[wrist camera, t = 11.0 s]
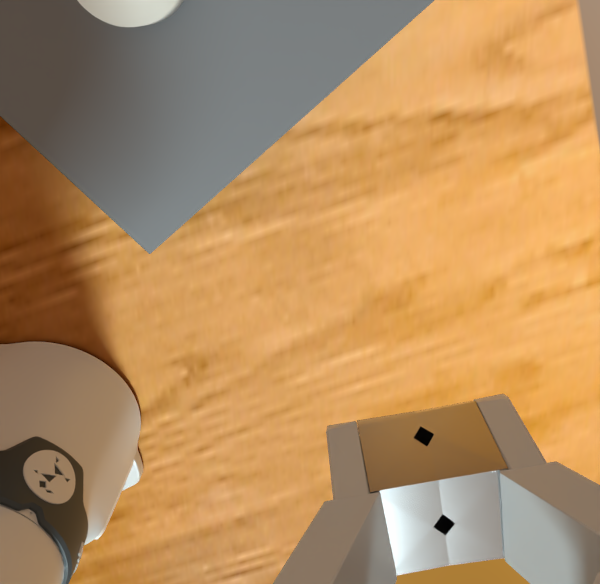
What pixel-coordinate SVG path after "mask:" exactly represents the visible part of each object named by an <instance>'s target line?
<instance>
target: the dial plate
mask: <svg viewBox="0 0 600 584" xmlns="http://www.w3.org/2000/svg"><path fill="white" fill-rule="evenodd" d="M433 1H434V0H183V2H182V4H181V5H180V6H179V8H178V9H177V10H176V11H175V12H174V13H173V14H172V15H171V16H169V17H168V18H166V19H165V20H163V21H161V22H158V23H155V24H151V25H145V26H139V27H119V26H115V25H111V24H109V23H106V22H104V21H102V20H100V19H98V18H96V17H95V16H93V15H92V14H91V13H89V12H88V11H87V10H86V9H85V8H84V7H83V6H82V5H81V4H80V3H79V2H78V1H77V0H0V116H1V117H2V118H3V119H4V120H5V121H6V122H7V123H8V124H9V125H10V126H12V127H13V128H14V129H15V130H16V131H17V132H18V133H19V134H20V135H21V136H22V137H23V138H25V139H26V140H27V141H28V142H29V143H30V144H31V145H32V146H33V147H34V148H35V149H36V150H38V151H39V152H40V153H41V154H42V155H43V156H44V157H45V158H46V159H47V160H48V161H49V162H51V163H52V164H53V165H54V166H55V167H56V168H57V169H58V170H59V171H60V172H61V173H62V174H64V175H65V176H66V177H67V178H68V179H69V180H70V181H71V182H72V183H73V184H74V185H75V186H76V187H78V188H79V189H80V190H81V191H82V192H83V193H84V194H85V195H86V196H87V197H88V198H89V199H91V200H92V201H93V202H94V203H95V204H96V205H97V206H98V207H99V208H100V209H101V210H102V211H104V212H105V213H106V214H107V215H108V216H109V217H110V218H111V219H112V220H113V221H114V222H115V223H117V224H118V225H119V226H120V227H121V228H122V229H123V230H124V231H125V232H126V233H127V234H128V235H130V236H131V237H132V238H133V239H134V240H135V241H136V242H137V243H138V244H139V245H140V246H141V247H142V248H144V249H145V250H146V251H147V252H148V253H149V254H151V253H152V252H153V251H154V250H155V249H156V248H157V247H158V246H160V245H161V244H162V243H163V242H164V241H165V240H166V239H167V238H169V237H170V236H171V235H172V234H173V233H174V232H175V231H176V230H178V229H179V228H180V227H181V226H182V225H183V224H184V223H185V222H186V221H188V220H189V219H190V218H191V217H192V216H193V215H194V214H195V213H197V212H198V211H199V210H200V209H201V208H202V207H203V206H204V205H206V204H207V203H208V202H209V201H210V200H211V199H212V198H213V197H215V196H216V195H217V194H218V193H219V192H220V191H221V190H222V189H223V188H225V187H226V186H227V185H228V184H229V183H230V182H231V181H232V180H234V179H235V178H236V177H237V176H238V175H239V174H240V173H241V172H243V171H244V170H245V169H246V168H247V167H248V166H249V165H250V164H251V163H253V162H254V161H255V160H256V159H257V158H258V157H259V156H260V155H262V154H263V153H264V152H265V151H266V150H267V149H268V148H269V147H271V146H272V145H273V144H274V143H275V142H276V141H277V140H278V139H279V138H281V137H282V136H283V135H284V134H285V133H286V132H287V131H288V130H290V129H291V128H292V127H293V126H294V125H295V124H296V123H297V122H299V121H300V120H301V119H302V118H303V117H304V116H305V115H306V114H308V113H309V112H310V111H311V110H312V109H313V108H314V107H315V106H316V105H318V104H319V103H320V102H321V101H322V100H323V99H324V98H325V97H327V96H328V95H329V94H330V93H331V92H332V91H333V90H334V89H336V88H337V87H338V86H339V85H340V84H341V83H342V82H343V81H344V80H346V79H347V78H348V77H349V76H350V75H351V74H352V73H353V72H355V71H356V70H357V69H358V68H359V67H360V66H361V65H362V64H364V63H365V62H366V61H367V60H368V59H369V58H370V57H371V56H372V55H374V54H375V53H376V52H377V51H378V50H379V49H380V48H381V47H383V46H384V45H385V44H386V43H387V42H388V41H389V40H390V39H392V38H393V37H394V36H395V35H396V34H397V33H398V32H399V31H401V30H402V29H403V28H404V27H405V26H406V25H407V24H408V23H409V22H411V21H412V20H413V19H414V18H415V17H416V16H417V15H418V14H420V13H421V12H422V11H423V10H424V9H425V8H426V7H427V6H429V5H430V4H431V3H432V2H433Z"/></svg>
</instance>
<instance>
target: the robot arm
mask: <svg viewBox="0 0 600 584" xmlns="http://www.w3.org/2000/svg"><path fill="white" fill-rule="evenodd" d="M357 424H358V427H357ZM140 428H141V417H140V411H139V407H138V404H137V401H136V399H135V397H134V395H133V393H132V391H131V390H130V388H129V387H128V385H127V384H126V383H125V381H124V380H123V379H122V378H121V377H120V376H119V375H118V374H117V373H116V372H115V371H114V370H113V369H112V368H110V367H109V366H108V365H106V364H105V363H104V362H102V361H101V360H99V359H97V358H96V357H94V356H92V355H90V354H88V353H86V352H83V351H81V350H78V349H76V348H73V347H69V346H66V345H62V344H57V343H50V342H21V343H13V344H0V584H68V583H69V581H70V579H71V577H72V575H73V573H74V572H75V571H76V569H77V566H78V564H79V561H80V559H81V556H82V552H83V546H84V545H86V544H88V543H89V542H91V541H92V540H94V539H99V538H100V537H101V535H102V534H103V532H104V531H105V529H106V526H107V524H108V522H109V520H110V517H111V515H112V513H113V510H114V508H115V506H116V503H117V501H118V499H119V496H120V494H121V492H122V490H124V489H127V488H129V487H131V486H133V485H135V484H136V483H137V482H138V481H139V480H140V477H141V475H142V473H143V464H142V460H141V457H140V454H139V452H138V439H139V434H140ZM358 430H359V431H358ZM326 434H327V443H328V453H329V462H330V472H331V481H332V491H333V500H330V501H325V502H324V503H323V505H322V506H321V508H320V510H319V511H318V513H317V514H316V516H315V518H314V519H313V521H312V522H311V524H310V525H309V527H308V529H307V530H306V532H305V533H304V535H303V537H302V538H301V540H300V541H299V543H298V545H297V546H296V548H295V549H294V551H293V552H292V554H291V556H290V557H289V559H288V560H287V562H286V564H285V565H284V567H283V568H282V570H281V572H280V573H279V575H278V576H277V578H276V579H275V581H274V583H273V584H395V583H396V580H397V577H396V575H401V574H407V573H412V572H417V571H422V570H427V569H433V568H438V567H443V566H448V565H456V564H463V563H471V562H478V561H485V560H493V559H500V558H505V561H506V562H507V563H508V564H509V565H510V566H511V567H512V568H514V569H515V570H516V571H517V572H518V573H519V574H520V575H521V576H523V577H524V578H525V579H526V580H527V581H528V582H529V583H530V584H600V485H598V484H597V483H595V482H593V481H591V480H589V479H587V478H586V477H584V476H582V475H580V474H578V473H577V472H575V471H573V470H571V469H569V468H567V467H566V466H564V465H562V464H560V463H558V462H550V463H546V461H545V459H544V457H543V456H542V454H541V452H540V451H539V449H538V447H537V445H536V444H535V442H534V440H533V439H532V437H531V435H530V434H529V432H528V430H527V428H526V427H525V425H524V423H523V422H522V420H521V418H520V416H519V415H518V413H517V411H516V410H515V408H514V406H513V404H512V403H511V401H510V399H509V398H508V396H506V395H504V394H499V395H494V396H489V397H485V398H480V399H475V400H473V401H468V402H462V403H457V404H452V405H446V406H441V407H436V408H431V409H425V410H420V411H414V412H408V413H401V414H395V415H389V416H382V417H376V418H370V419H363V420H357V422H355V421H354V422H348V423H341V424H335V425H329V426H327V431H326ZM359 435H360V436H359Z"/></svg>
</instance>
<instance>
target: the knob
mask: <svg viewBox="0 0 600 584" xmlns="http://www.w3.org/2000/svg"><path fill="white" fill-rule="evenodd" d="M77 1H78V2H79V3H80V4H81V5H82V6H83V7H84V8H85V9H86V10H87V11H88V12H89V13H91V14H92V15H93V16H95V17H96V18H98V19H100V20H102V21H104V22H106V23H109V24H111V25H115V26H119V27H139V26H145V25H151V24H155V23H158V22H161V21H163V20H165V19H166V18H168V17H169V16H171V15H172V14H173V13H174V12H175V11H176V10H177V9H178V8H179V6H180V5H181V4H182V2H183V0H77Z"/></svg>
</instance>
